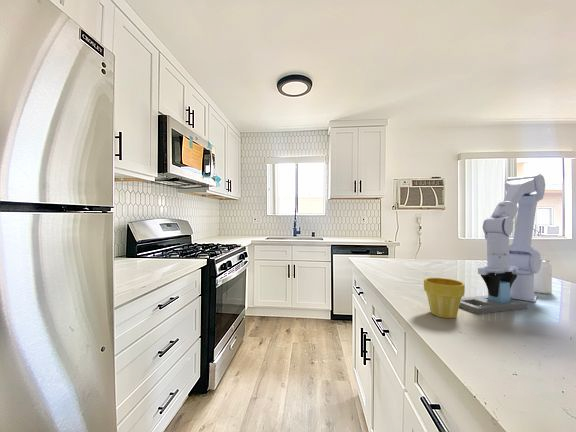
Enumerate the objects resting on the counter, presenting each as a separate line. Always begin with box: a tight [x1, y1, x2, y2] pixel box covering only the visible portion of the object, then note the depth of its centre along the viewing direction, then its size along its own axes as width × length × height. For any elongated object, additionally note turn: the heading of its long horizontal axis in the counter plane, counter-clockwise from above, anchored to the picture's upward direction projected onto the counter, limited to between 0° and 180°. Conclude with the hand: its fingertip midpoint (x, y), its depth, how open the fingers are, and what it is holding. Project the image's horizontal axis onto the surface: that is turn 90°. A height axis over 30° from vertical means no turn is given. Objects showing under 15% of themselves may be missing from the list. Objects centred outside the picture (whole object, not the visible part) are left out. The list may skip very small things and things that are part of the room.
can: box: [534, 259, 553, 295], centre depth 100 cm, size 6×6×12 cm
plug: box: [487, 281, 511, 303], centre depth 85 cm, size 4×4×7 cm
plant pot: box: [423, 277, 466, 319], centre depth 77 cm, size 10×10×10 cm
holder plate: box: [459, 294, 528, 315], centre depth 84 cm, size 10×19×2 cm, turn 104°
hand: (498, 295), depth 85 cm, fingers closed on plug, 4 cm apart
